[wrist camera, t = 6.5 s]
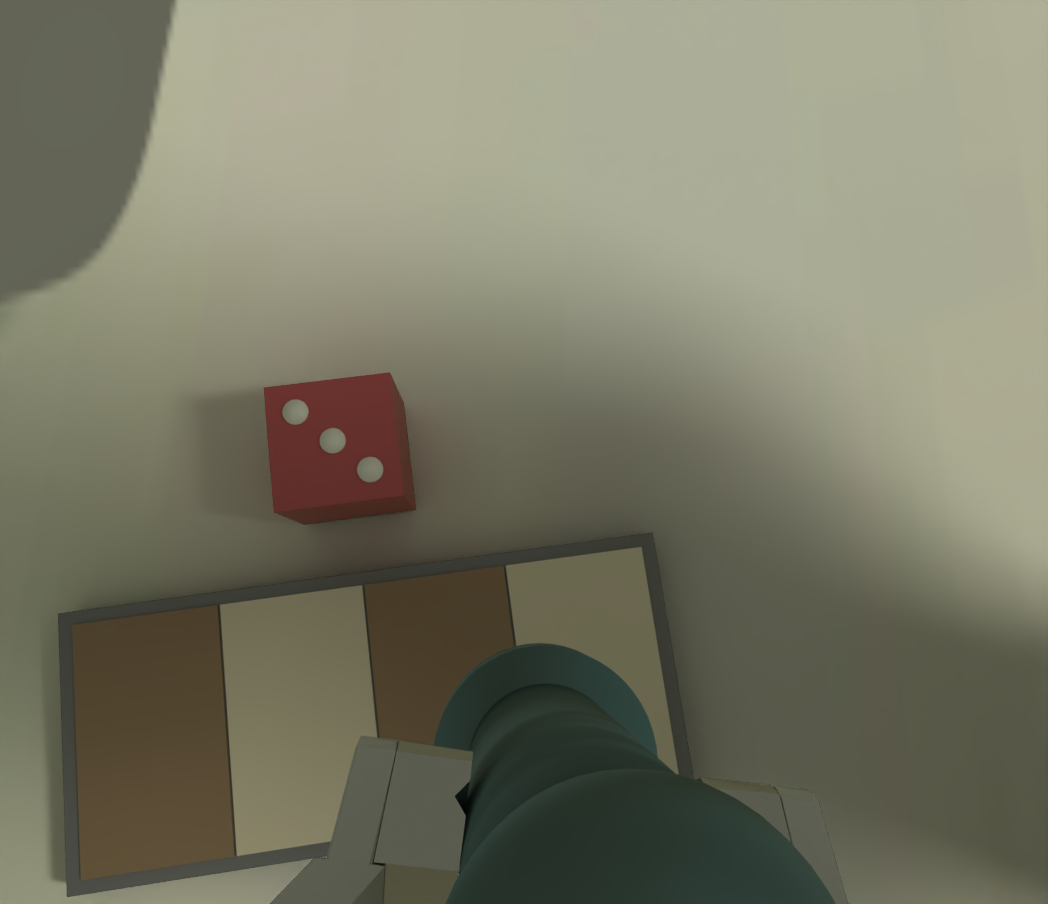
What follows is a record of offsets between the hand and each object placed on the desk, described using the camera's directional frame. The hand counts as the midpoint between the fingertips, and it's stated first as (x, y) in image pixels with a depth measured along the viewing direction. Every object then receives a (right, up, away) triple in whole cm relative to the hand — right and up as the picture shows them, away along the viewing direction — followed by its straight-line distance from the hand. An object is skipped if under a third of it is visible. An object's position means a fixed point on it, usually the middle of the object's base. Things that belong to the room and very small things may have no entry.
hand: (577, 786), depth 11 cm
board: (-6, -5, +20) cm, 22 cm away
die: (-8, +4, +22) cm, 23 cm away
